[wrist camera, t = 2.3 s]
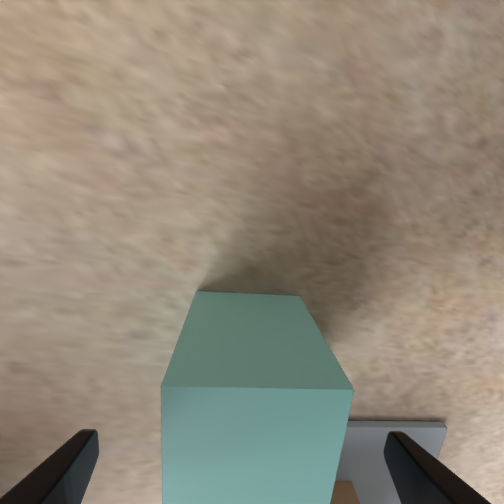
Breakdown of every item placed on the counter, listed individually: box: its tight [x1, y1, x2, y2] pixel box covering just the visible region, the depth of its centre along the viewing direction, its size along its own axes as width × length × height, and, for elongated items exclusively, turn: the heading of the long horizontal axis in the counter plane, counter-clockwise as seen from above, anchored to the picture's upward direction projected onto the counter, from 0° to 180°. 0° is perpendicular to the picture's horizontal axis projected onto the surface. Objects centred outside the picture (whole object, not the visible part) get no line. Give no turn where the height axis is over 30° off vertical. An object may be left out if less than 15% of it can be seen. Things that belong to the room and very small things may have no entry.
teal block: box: [161, 291, 354, 504], centre depth 10 cm, size 5×5×6 cm
